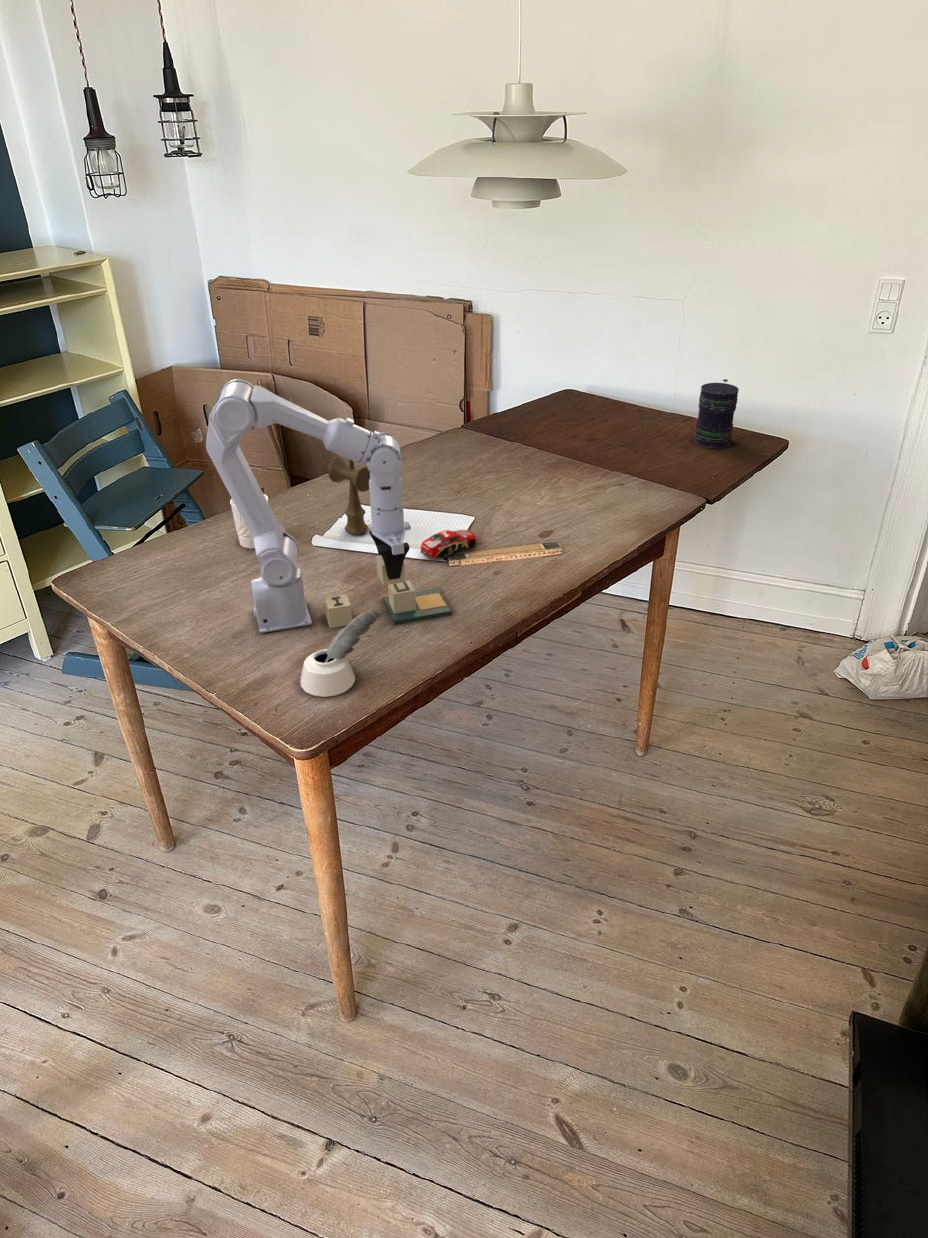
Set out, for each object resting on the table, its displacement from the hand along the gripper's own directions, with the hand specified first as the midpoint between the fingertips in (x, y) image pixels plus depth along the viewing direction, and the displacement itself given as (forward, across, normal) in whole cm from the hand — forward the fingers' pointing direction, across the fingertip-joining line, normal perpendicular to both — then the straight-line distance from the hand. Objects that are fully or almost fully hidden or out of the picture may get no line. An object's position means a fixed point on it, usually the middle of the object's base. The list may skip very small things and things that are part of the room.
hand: (391, 572), depth 162 cm
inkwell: (+9, -16, +12) cm, 22 cm away
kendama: (+9, +36, 0) cm, 37 cm away
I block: (+8, 0, +10) cm, 13 cm away
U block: (+8, 0, -2) cm, 8 cm away
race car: (+9, +21, -18) cm, 29 cm away
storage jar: (+9, +59, -104) cm, 120 cm away
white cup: (+8, +38, +22) cm, 44 cm away
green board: (+8, 0, -5) cm, 10 cm away
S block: (+1, 0, 0) cm, 1 cm away
